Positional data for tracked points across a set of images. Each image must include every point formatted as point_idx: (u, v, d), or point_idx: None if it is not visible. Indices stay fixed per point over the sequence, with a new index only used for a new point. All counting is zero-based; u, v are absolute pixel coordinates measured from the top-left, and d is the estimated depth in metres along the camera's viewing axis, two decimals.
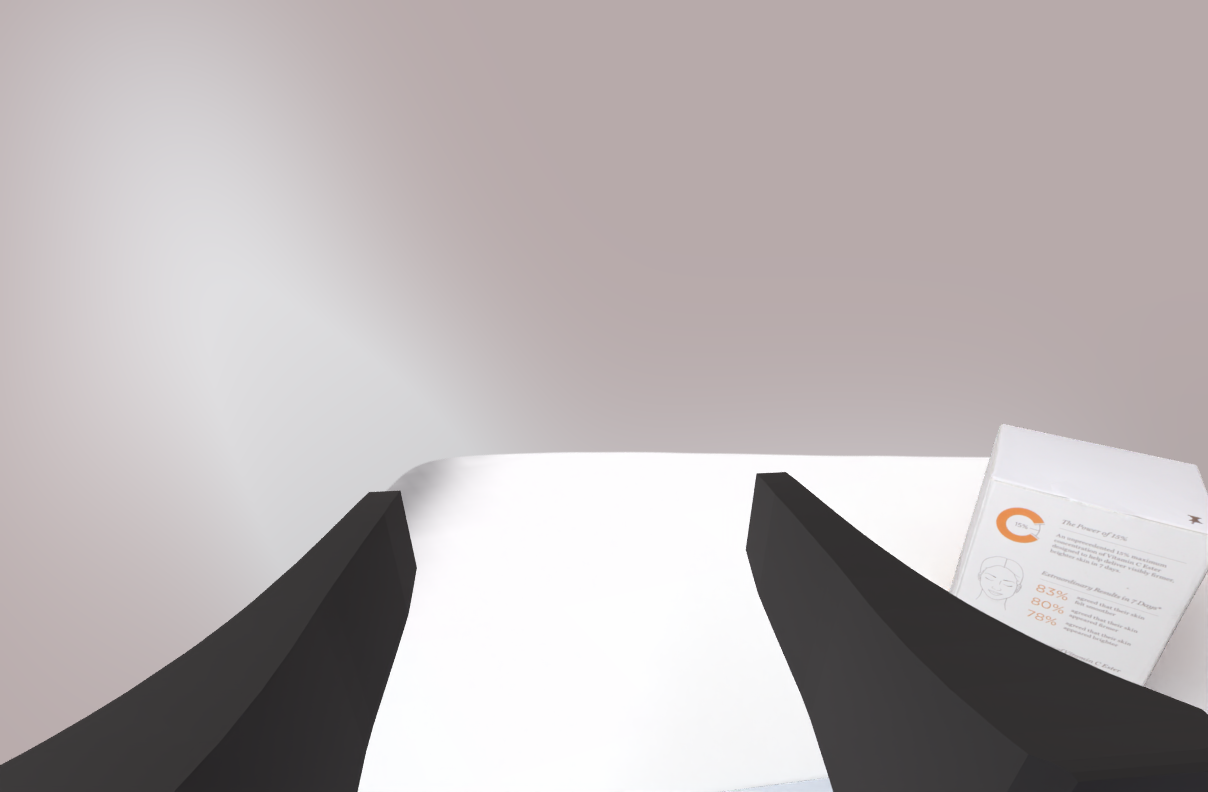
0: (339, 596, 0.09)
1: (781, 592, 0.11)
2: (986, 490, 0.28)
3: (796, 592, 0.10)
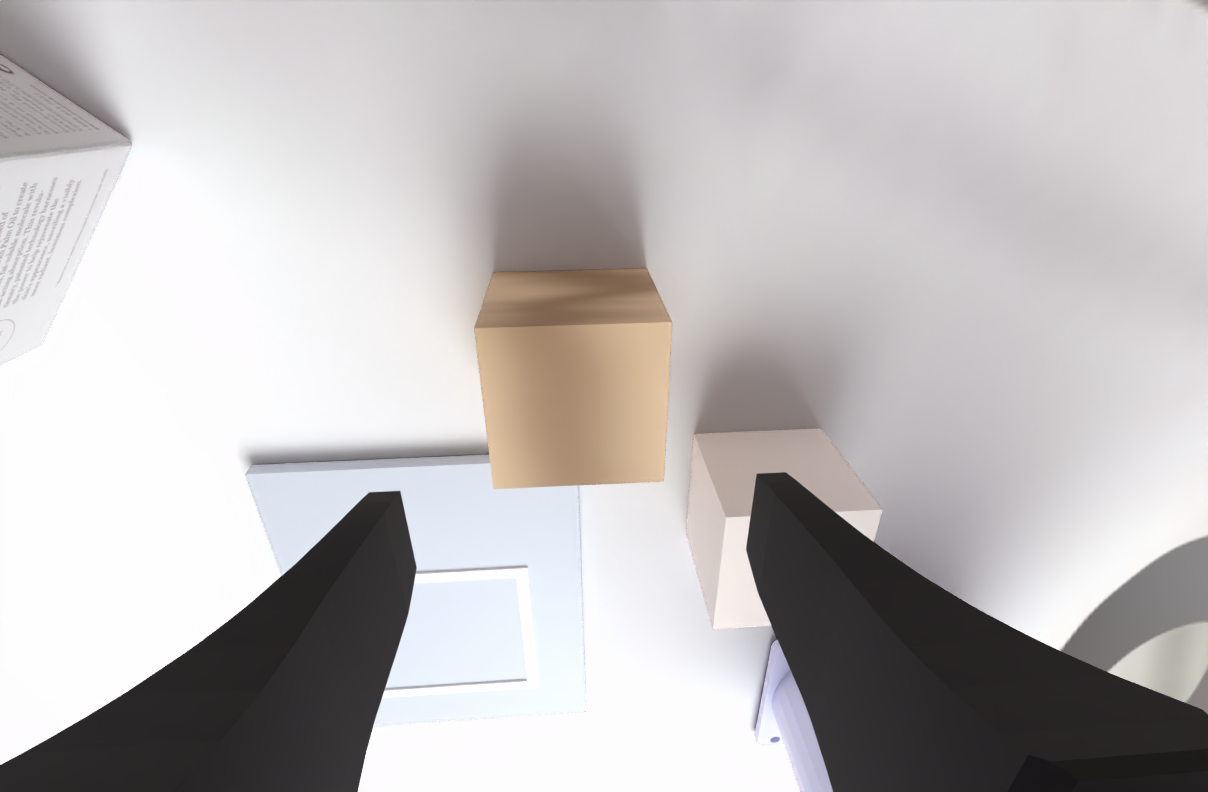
0: (339, 596, 0.09)
1: (781, 592, 0.11)
2: None
3: (796, 592, 0.10)
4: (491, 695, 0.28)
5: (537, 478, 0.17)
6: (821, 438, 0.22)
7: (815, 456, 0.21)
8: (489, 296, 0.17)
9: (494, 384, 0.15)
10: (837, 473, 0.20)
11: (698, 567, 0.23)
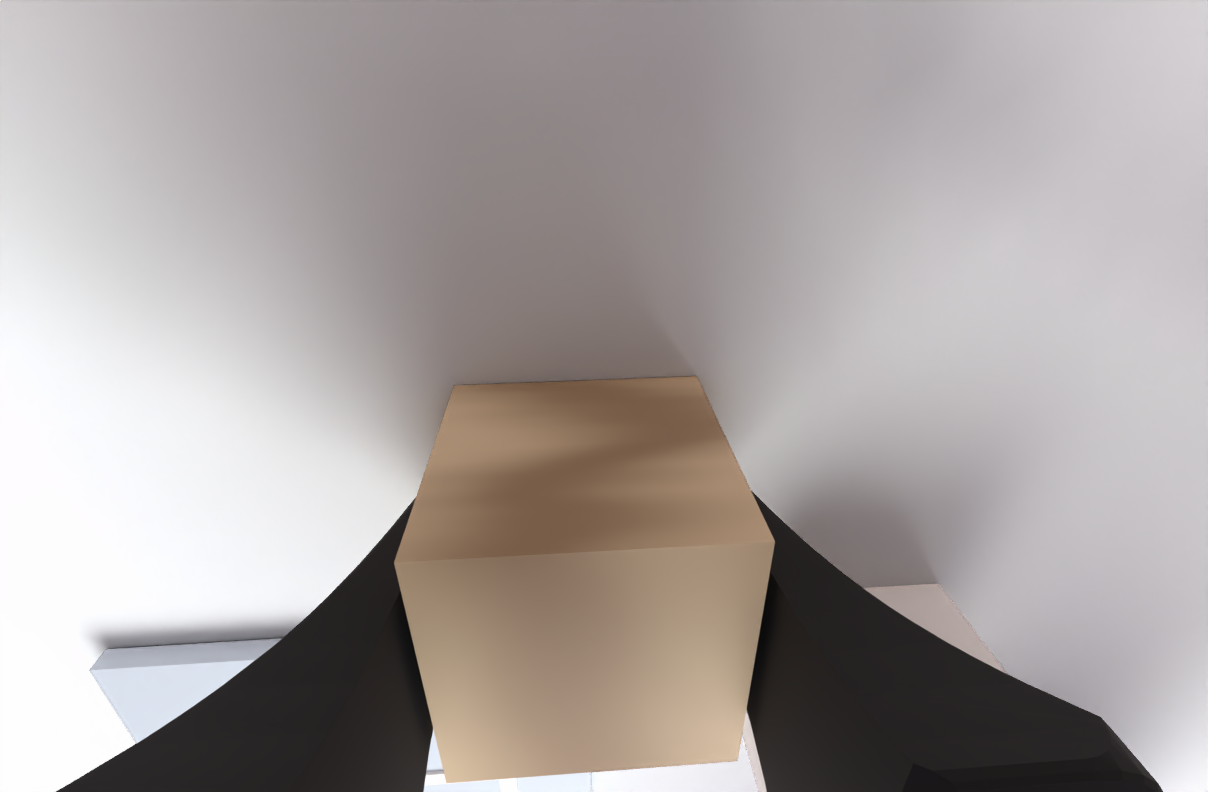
0: None
1: None
2: None
3: None
4: None
5: (522, 765, 0.10)
6: (944, 604, 0.15)
7: None
8: (438, 454, 0.10)
9: (439, 644, 0.08)
10: None
11: (761, 787, 0.16)
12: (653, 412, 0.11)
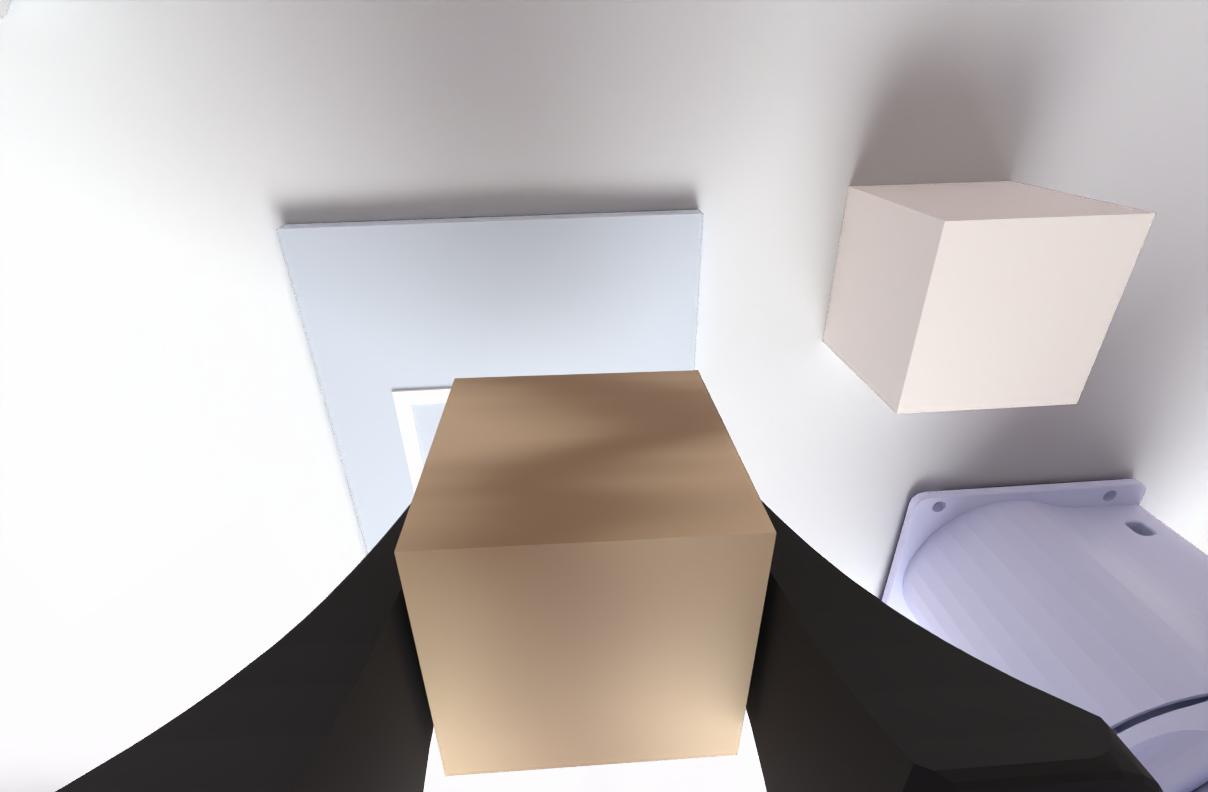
0: None
1: None
2: None
3: None
4: None
5: (521, 758, 0.10)
6: (1018, 184, 0.17)
7: (1023, 192, 0.16)
8: (438, 446, 0.10)
9: (439, 635, 0.08)
10: (1064, 198, 0.15)
11: (855, 359, 0.18)
12: (654, 405, 0.11)
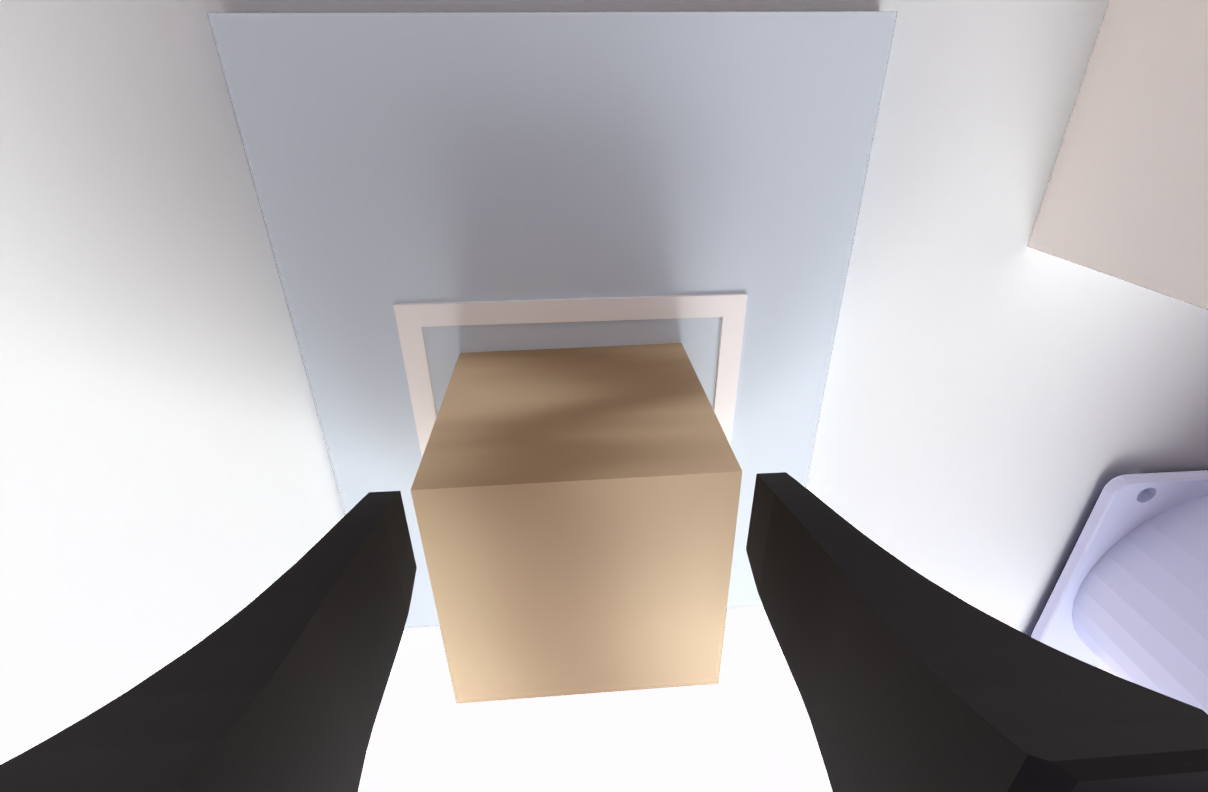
0: (339, 596, 0.09)
1: (781, 592, 0.11)
2: None
3: (796, 592, 0.10)
4: None
5: (524, 686, 0.11)
6: None
7: None
8: (446, 408, 0.11)
9: (449, 568, 0.09)
10: None
11: (1120, 256, 0.11)
12: (640, 372, 0.12)
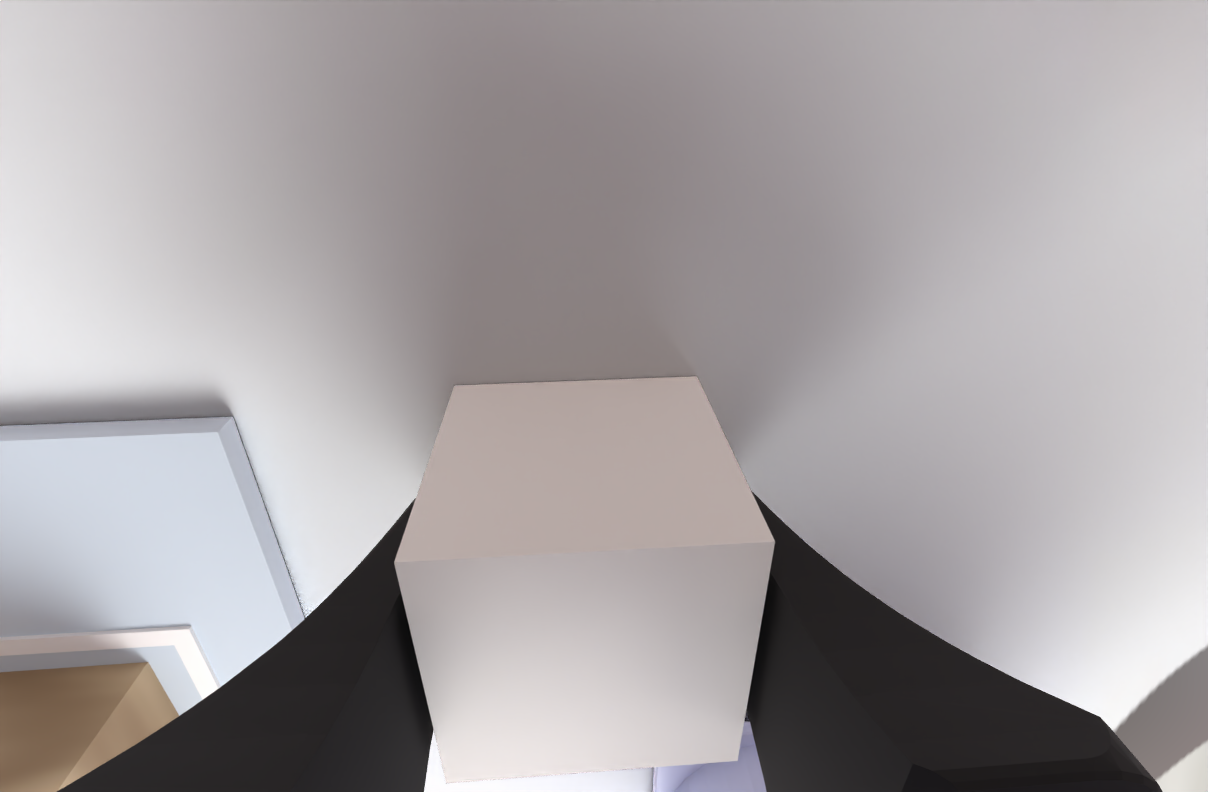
0: None
1: None
2: None
3: None
4: None
5: None
6: (692, 394, 0.12)
7: (666, 426, 0.10)
8: None
9: None
10: (699, 459, 0.10)
11: None
12: (55, 722, 0.13)
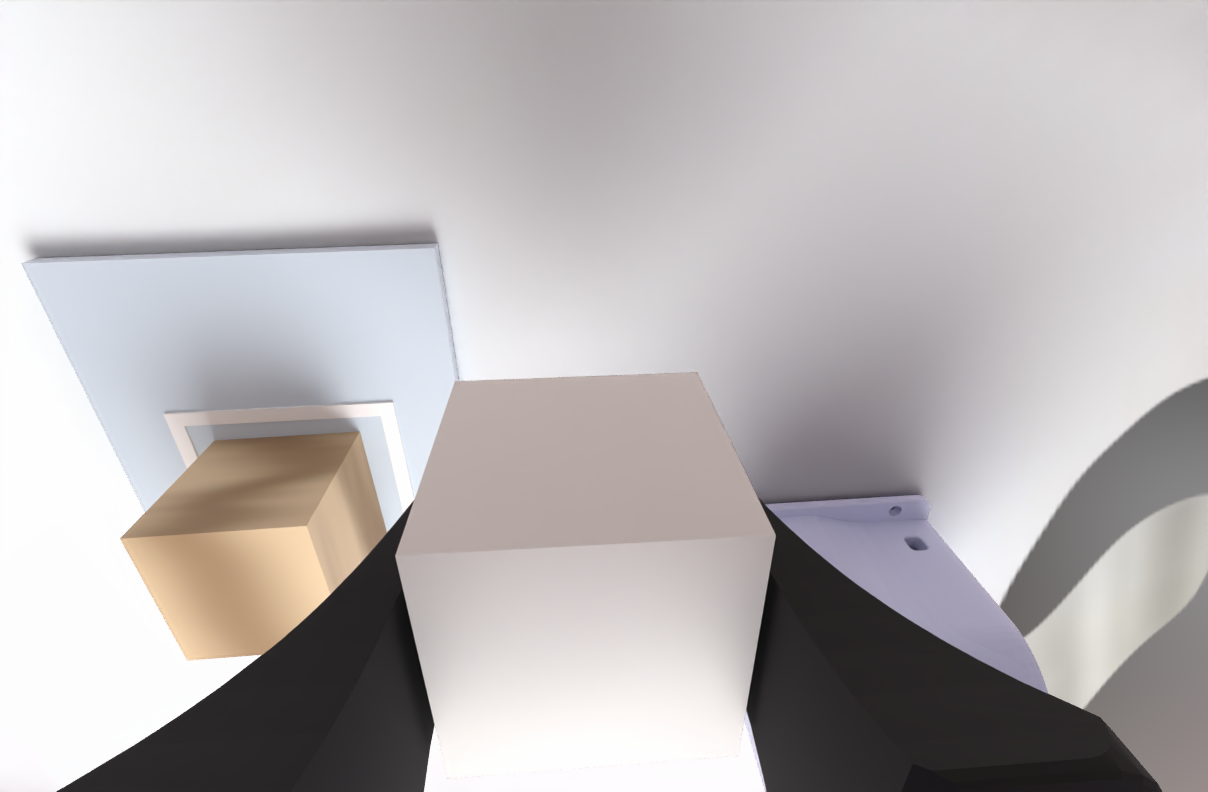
0: None
1: None
2: None
3: None
4: None
5: (226, 650, 0.18)
6: (692, 390, 0.12)
7: (667, 422, 0.10)
8: (176, 484, 0.18)
9: (156, 580, 0.17)
10: (699, 453, 0.10)
11: None
12: (312, 456, 0.19)
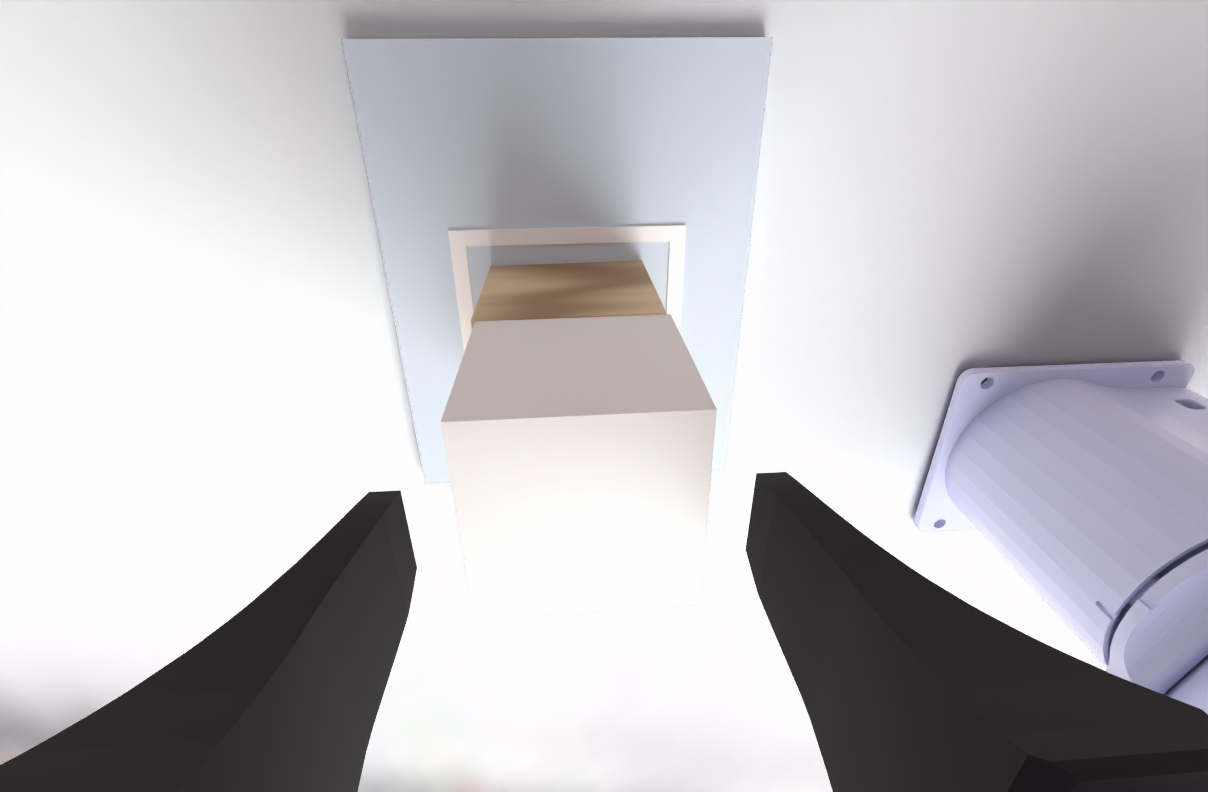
0: (339, 596, 0.09)
1: (781, 592, 0.11)
2: None
3: (796, 592, 0.10)
4: None
5: None
6: (665, 325, 0.14)
7: (643, 346, 0.13)
8: (486, 290, 0.17)
9: None
10: (666, 364, 0.12)
11: None
12: (612, 274, 0.18)
